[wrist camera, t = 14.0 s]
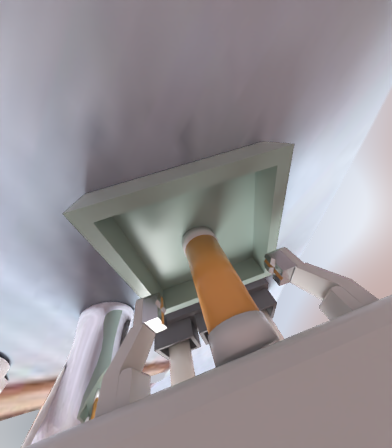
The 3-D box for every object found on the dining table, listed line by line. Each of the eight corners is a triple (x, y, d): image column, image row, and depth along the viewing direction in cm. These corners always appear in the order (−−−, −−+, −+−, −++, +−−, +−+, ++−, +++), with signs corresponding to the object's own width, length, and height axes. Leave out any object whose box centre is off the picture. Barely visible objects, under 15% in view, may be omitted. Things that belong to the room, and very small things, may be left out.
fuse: (170, 336, 24) (177, 426, 17) (164, 329, 22) (168, 428, 15) (189, 329, 24) (204, 414, 17) (184, 321, 22) (199, 415, 15)
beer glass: (60, 320, 17) (-198, 840, 4) (105, 291, 16) (-61, 829, 4) (110, 332, 21) (47, 623, 8) (148, 310, 20) (138, 594, 8)
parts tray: (157, 292, 18) (158, 317, 16) (84, 193, 10) (62, 213, 8) (256, 256, 19) (271, 274, 17) (263, 141, 11) (294, 143, 9)
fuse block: (167, 337, 26) (168, 362, 23) (149, 320, 21) (148, 349, 18) (261, 300, 27) (273, 320, 25) (264, 277, 23) (279, 298, 20)
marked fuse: (199, 256, 15) (243, 367, 8) (174, 245, 14) (201, 374, 6) (220, 234, 15) (289, 337, 7) (196, 220, 13) (256, 337, 5)
